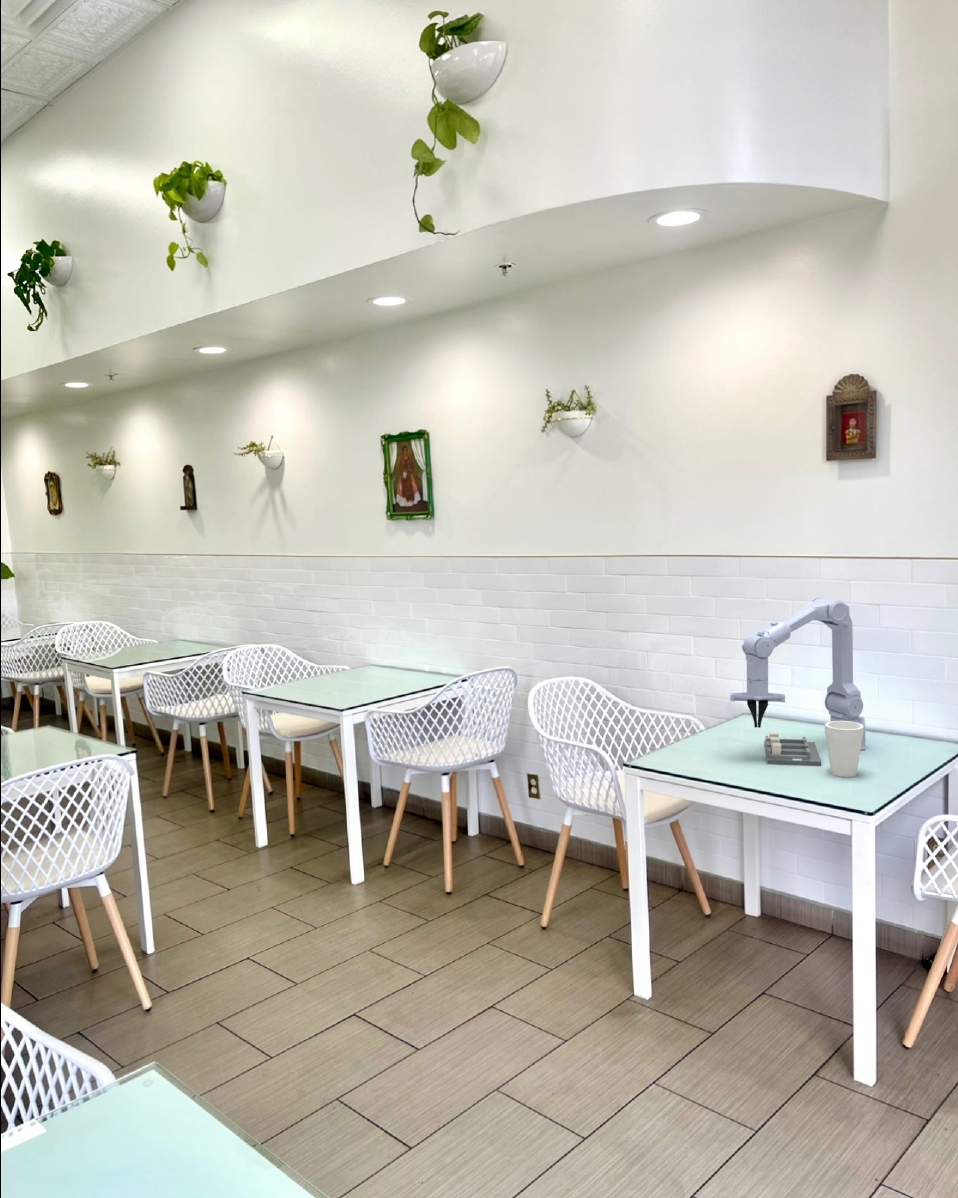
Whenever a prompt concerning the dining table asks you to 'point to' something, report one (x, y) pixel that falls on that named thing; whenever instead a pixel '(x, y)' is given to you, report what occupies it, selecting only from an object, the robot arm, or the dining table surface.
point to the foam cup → (844, 747)
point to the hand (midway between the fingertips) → (757, 726)
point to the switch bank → (794, 753)
